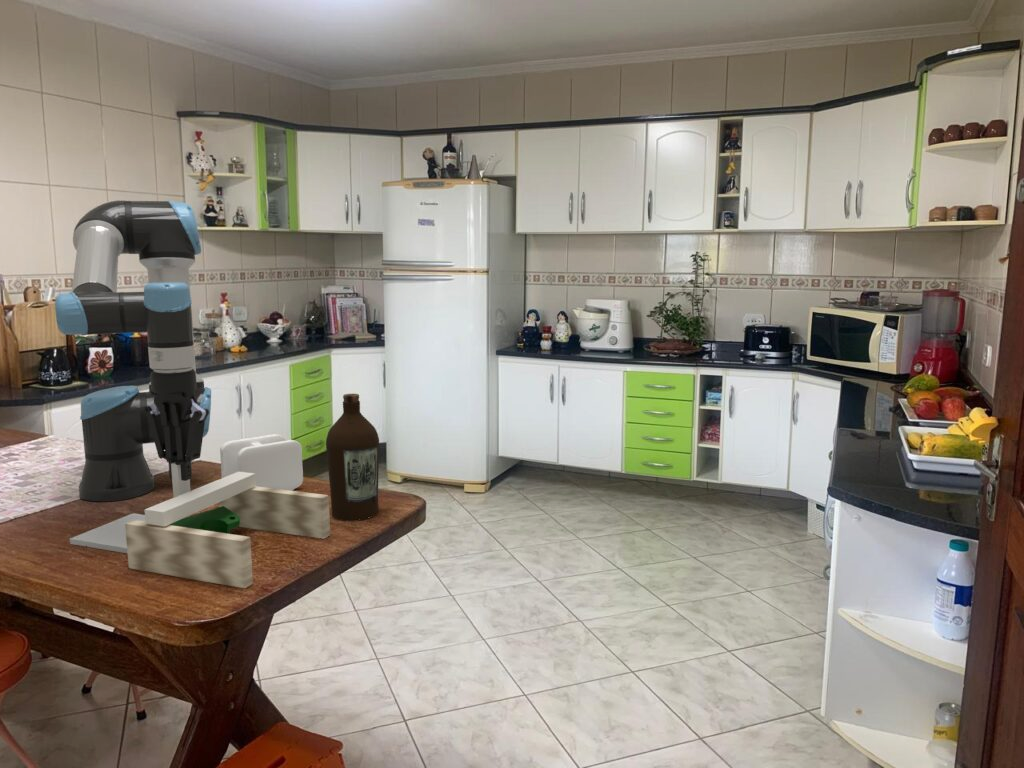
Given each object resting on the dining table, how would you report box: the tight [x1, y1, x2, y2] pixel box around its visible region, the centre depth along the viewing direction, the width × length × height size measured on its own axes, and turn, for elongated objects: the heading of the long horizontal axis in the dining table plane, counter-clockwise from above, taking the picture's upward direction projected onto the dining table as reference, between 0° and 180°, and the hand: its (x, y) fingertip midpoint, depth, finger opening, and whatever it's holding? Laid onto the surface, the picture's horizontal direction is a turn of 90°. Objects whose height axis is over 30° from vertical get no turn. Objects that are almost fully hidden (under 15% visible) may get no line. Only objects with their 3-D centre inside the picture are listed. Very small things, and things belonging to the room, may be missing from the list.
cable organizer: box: [219, 433, 304, 491], centre depth 176 cm, size 15×11×12 cm
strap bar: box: [144, 472, 256, 527], centre depth 142 cm, size 4×24×2 cm, turn 160°
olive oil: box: [325, 393, 380, 521], centre depth 159 cm, size 11×11×25 cm
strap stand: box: [125, 486, 331, 589], centre depth 141 cm, size 24×25×8 cm
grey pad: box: [69, 512, 145, 554], centre depth 149 cm, size 14×15×1 cm
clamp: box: [169, 506, 240, 534], centre depth 143 cm, size 12×6×9 cm, turn 139°
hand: (182, 496), depth 143 cm, fingers closed
